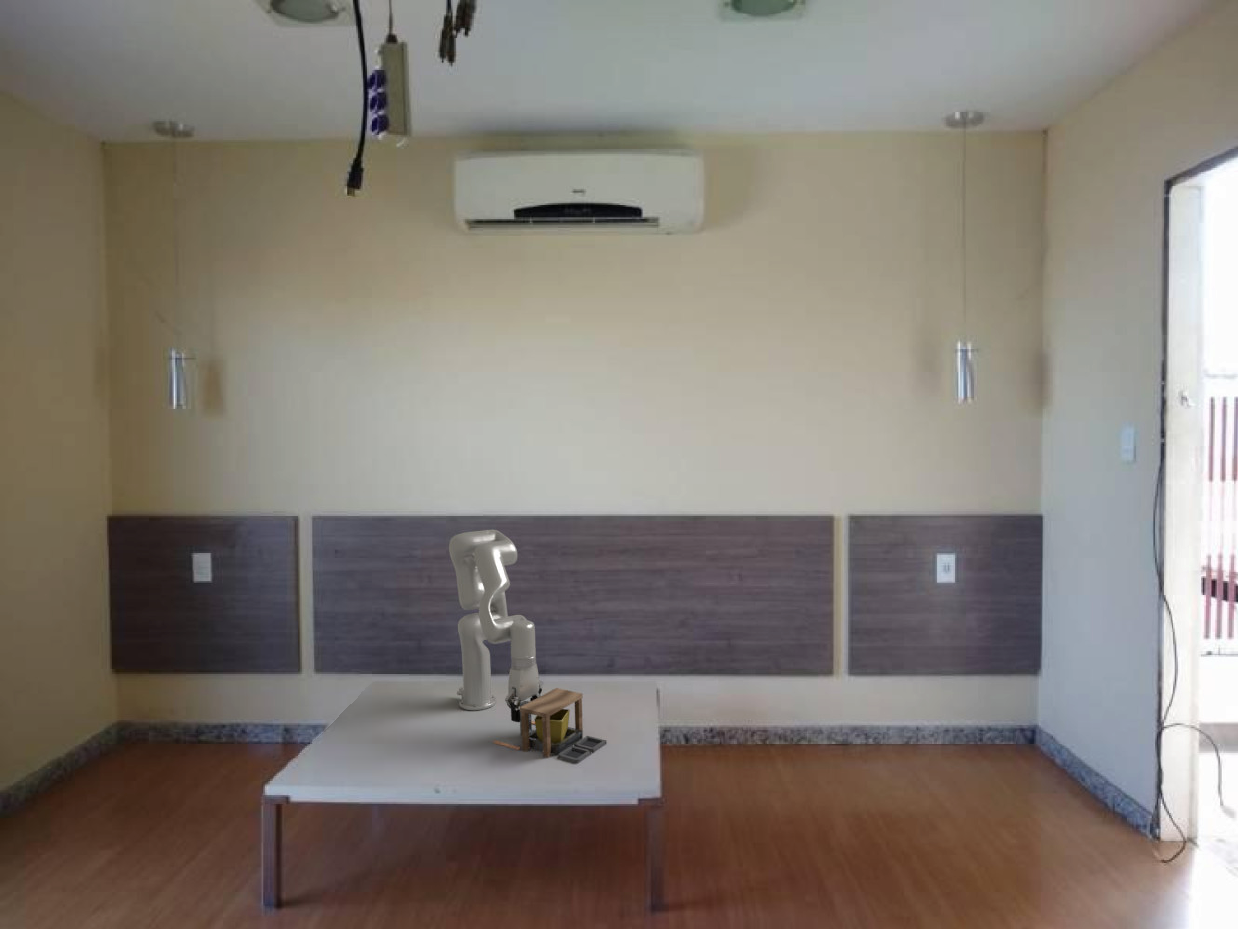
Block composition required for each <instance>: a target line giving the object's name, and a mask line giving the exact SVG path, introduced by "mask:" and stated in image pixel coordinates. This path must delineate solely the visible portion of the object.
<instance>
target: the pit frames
mask: <svg viewBox="0 0 1238 929" xmlns="http://www.w3.org/2000/svg"><path fill="white" fill-rule="evenodd" d="M605 745H607V740H606V739H602V738H599V737H594V736H590V735H586V736H585V737H583V739H581V740H579V741H578V742H576V743H575V744H573V745H572V746H570V747H569V748H567V749H566V750H564V751H562V752H561V753H559V754H558V755H557V759H560V760H563V761H567V762H570V763H573V764H577V765H578V764H579V763H581V762H582V761H583V760H586V758H588V757H590V756H591V755H592V753H595V752H597V751H598V750H600V749H601V748H603V747H604V746H605Z"/></svg>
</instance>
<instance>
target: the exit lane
mask: <svg viewBox="0 0 1238 929" xmlns="http://www.w3.org/2000/svg"><path fill="white" fill-rule="evenodd" d="M531 722H532V725H535V720H531ZM492 743H493V744H495V745H499V746H503V747H506V748H510V749H514V750H517V751H519V750H522V746H521V747H520V746H516V745H512V744H509V743H506V742H502V741H500V740H493V741H492Z"/></svg>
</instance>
